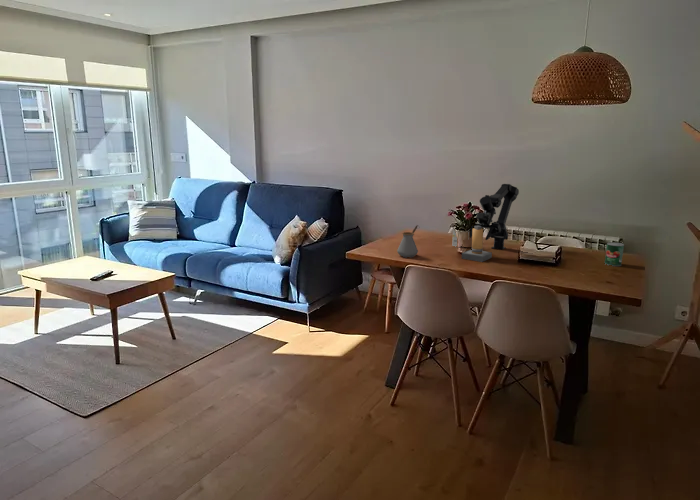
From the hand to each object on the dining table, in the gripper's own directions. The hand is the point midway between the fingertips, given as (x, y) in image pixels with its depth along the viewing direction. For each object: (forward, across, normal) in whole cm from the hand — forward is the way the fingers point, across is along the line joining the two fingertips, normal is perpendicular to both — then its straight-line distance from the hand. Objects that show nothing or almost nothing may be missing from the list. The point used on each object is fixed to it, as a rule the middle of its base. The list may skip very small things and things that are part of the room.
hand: (477, 238), depth 270 cm
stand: (+8, 0, +8) cm, 11 cm away
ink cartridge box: (-6, -20, +22) cm, 30 cm away
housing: (+6, 0, +5) cm, 8 cm away
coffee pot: (+19, -33, -3) cm, 38 cm away
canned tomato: (-15, +61, +31) cm, 70 cm away
